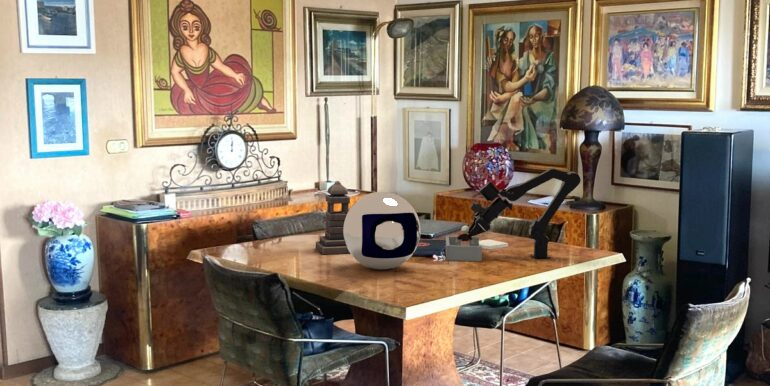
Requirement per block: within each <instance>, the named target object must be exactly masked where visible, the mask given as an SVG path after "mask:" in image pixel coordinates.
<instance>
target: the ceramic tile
mask: <svg viewBox="0 0 770 386" xmlns="http://www.w3.org/2000/svg"><path fill="white" fill-rule="evenodd" d="M479 246H482V249H484V250H493V249H494V250H495V249H501V248H507V247H509V243H508V242H503V241H499V240H494V239H483V240H479Z"/></svg>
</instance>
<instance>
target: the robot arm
mask: <svg viewBox="0 0 770 386" xmlns="http://www.w3.org/2000/svg"><path fill="white" fill-rule="evenodd" d="M552 179H555V180H558V181H561V183H560V187H559V190H558V191H557V192H556V194H555V195H554V196H553V198H552V200H551V201H550V203H549V204H548V205H547V207H546V209H545V210H544V211H543V213H542V215H541V216H540V217H539V218H538V219H537V218H536V217H535V218H534V217H533V220H532V222H531V224H529V229H528V233H529V236H530V237H531V239H533V240H534V242H533V253H532V254H530V257H532V258H534V259H550V258H552V256H549V255H548V250H549V249H548V247H549V242H550V239H549V237H548V236H547V234H546V232H547V229H548V227H549V224H550V222H551V220H552V219H553V218H554V216H555V215H556V213H557V212H558V210H559V208H560V207H561V205H562V204H563V203H564V201H565V200H566V198H567V197H568V196H569V194H571V193H572V192H573V191H574V190H575V189H576V188H577V187H578V186H579V185H580V184H581V176H580V175H579V174H578V173H577V172H575V171H568V172H566V171H563V170H560V169H557V168H555V167H550V168H549V169H547V170H545V171H544V172H542V173H539V174H537V175H536V176H533V177H532V178H530V179H528V180H526V181H524V182H520V183H515V184H513V185H510V186H508V187H506V188H502V189H498V187H497V186H496V185H494V183H493V182H492V181H491V180H490V181H489V182H487V183H486V184H484V185H483V186H481V188H480V189H479V190H478V193H479V195H481V196H482V197H483V198H484V199H485V201H486V202H491V203H490V204H489V205H486V206H484V205H482V203H479V202H476V201H472V203H471V205H470V207H469V210H471V211H474V212H475V213H474V215H473V222H472V223H471V225H470V226H468V227H469V231H468V233H467V234H468V235H467V236H468V237H469V238H470V237H476V236H478V235H480V234H483V233H486V232H488V231H489V230H491V224H492V222H493V221H495V219H498V218H499V216H500V215H501V214H502V213H503V212H504V211H506V210H507V209H509V211H512V210H513V202H516V201H518V200H519V199H520V198H521V197H523V196H524V195H525V194H526V193H527V192H529V191H531V190H533V189H535V188H536V187H539V186H540V185H542V184H545V183H546V182H548V181H550V180H552ZM509 201H510V202H509Z"/></svg>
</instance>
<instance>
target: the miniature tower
mask: <svg viewBox="0 0 770 386" xmlns="http://www.w3.org/2000/svg"><path fill="white" fill-rule="evenodd" d="M326 192H327V194H325V202H327V204H326V205H327V206H326V207H327V211H325V231H324V235H319V240H317V241H315V249H316V250H317V251H318V252H319V253H320V254H321V255H323V256H325V255H326V256H327V255H351V253H350V252H349V250H348V249H347V246H346V244H345V241H344V235H343V226H344V221H345V218H346V215H347V213H348V211H349V210H350V208H349V207H350V206H349V204H350V203H351V197H350V196H349V195H348V194H349V191H348V189H347V188H346V187H345V186H344V185H342V183H341V182H340V180H336V181H335V182H334V183H333V184H331V186H329V187H328V188H327V191H326ZM334 204H335V205H338V204H341V207H340V208H341V209H340V210H335V211H334V208H335V207H334V206H335V205H334Z"/></svg>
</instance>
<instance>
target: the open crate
mask: <svg viewBox="0 0 770 386" xmlns="http://www.w3.org/2000/svg"><path fill="white" fill-rule="evenodd" d="M458 236H459V235H458ZM458 236H457V235H455V236H454V235H446V236H445V260H446V262H447V261H450V262H451V261H453V262H455V261H456V262H460V261H461V262H482V260H483V259H482V255H483V254H482V251H483V248H482V246H479V241H480V237H479V236H472V239H473V242H474V244H472V243H471V241H470V240H469V244H470V246H461V240H459V241H458V242H457V243H456V239H457V237H458Z"/></svg>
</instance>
